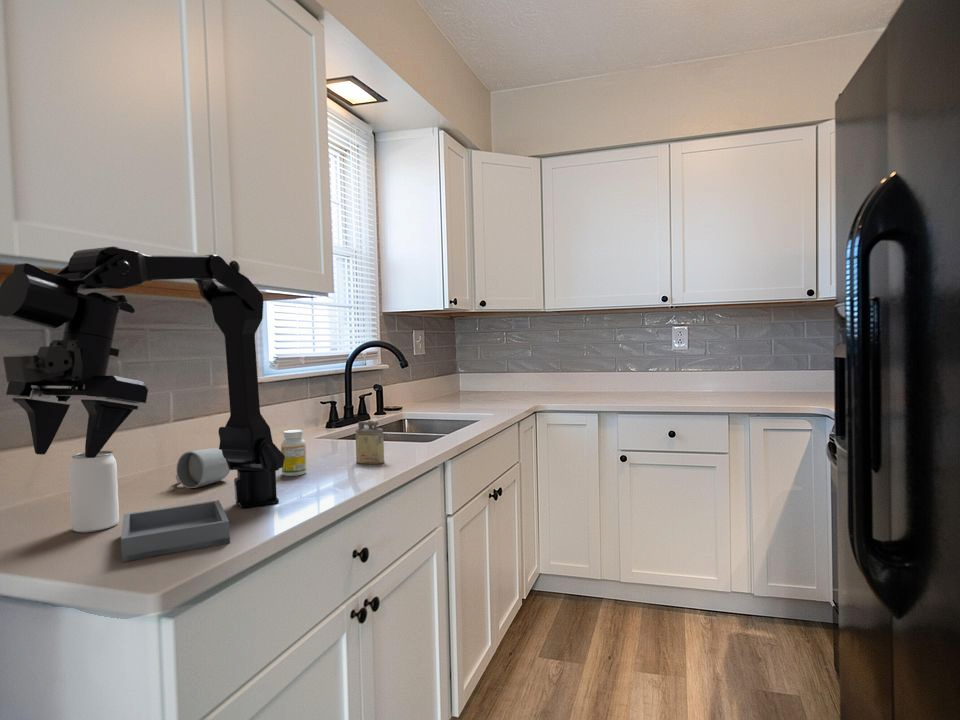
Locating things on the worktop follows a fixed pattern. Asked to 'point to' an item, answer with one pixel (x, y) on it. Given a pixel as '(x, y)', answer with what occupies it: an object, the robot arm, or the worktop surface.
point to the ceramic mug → (201, 467)
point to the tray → (173, 530)
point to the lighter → (369, 443)
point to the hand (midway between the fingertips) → (64, 456)
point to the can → (93, 492)
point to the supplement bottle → (294, 453)
